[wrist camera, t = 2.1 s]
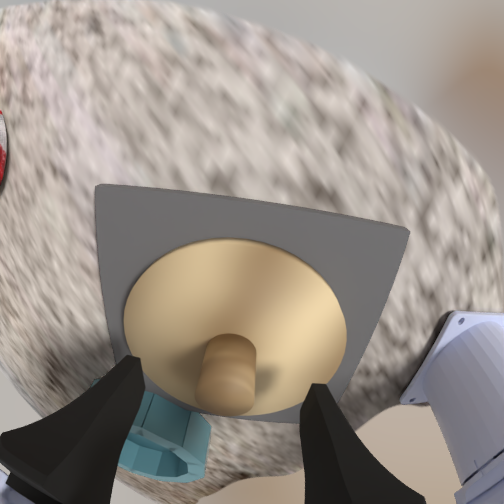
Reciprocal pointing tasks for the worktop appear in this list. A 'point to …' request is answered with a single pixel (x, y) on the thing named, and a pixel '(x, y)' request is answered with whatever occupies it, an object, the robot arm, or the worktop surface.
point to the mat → (254, 228)
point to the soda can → (2, 146)
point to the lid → (235, 326)
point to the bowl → (166, 442)
